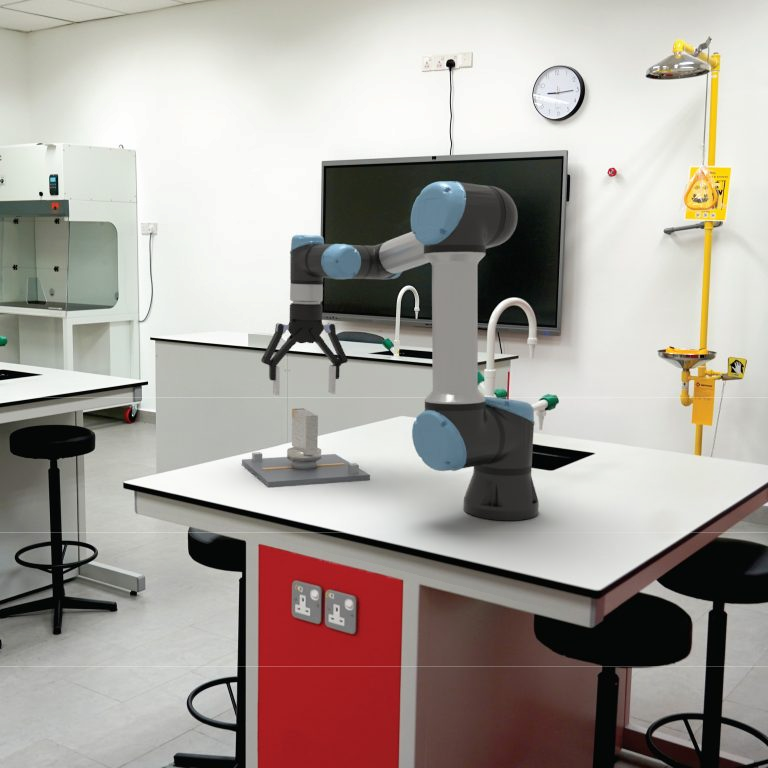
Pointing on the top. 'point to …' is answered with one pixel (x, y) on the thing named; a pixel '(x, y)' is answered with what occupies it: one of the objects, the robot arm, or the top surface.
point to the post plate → (303, 470)
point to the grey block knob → (304, 437)
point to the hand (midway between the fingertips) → (304, 393)
